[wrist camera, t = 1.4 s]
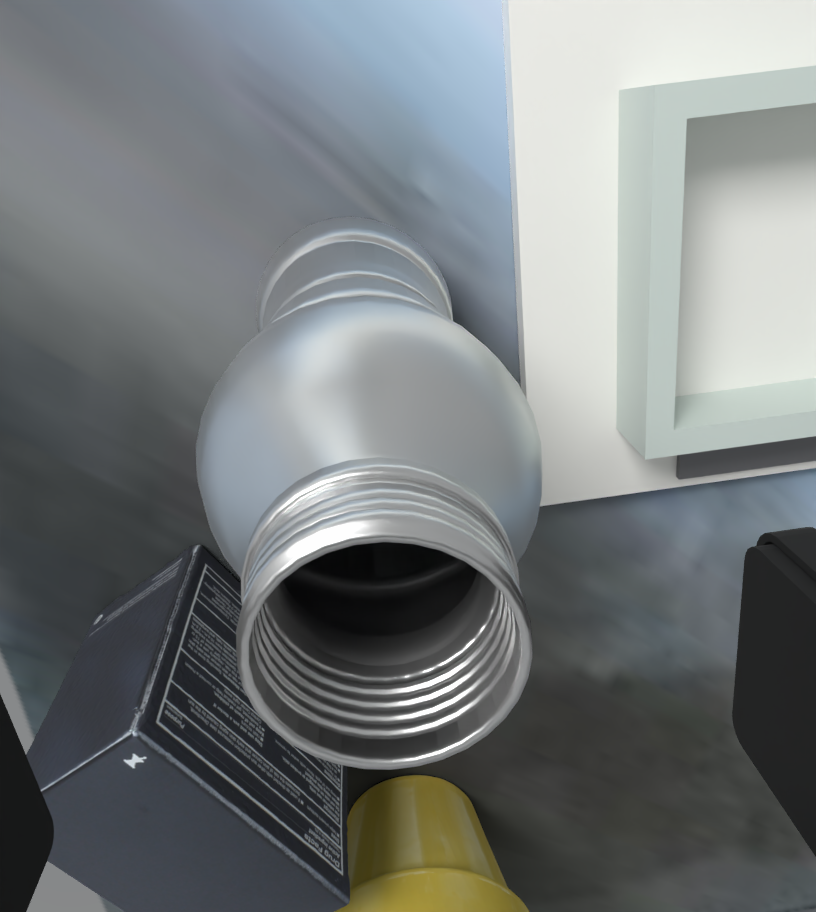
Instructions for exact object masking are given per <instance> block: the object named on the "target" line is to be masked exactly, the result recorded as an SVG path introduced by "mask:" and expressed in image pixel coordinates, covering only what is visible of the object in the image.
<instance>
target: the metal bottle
mask: <svg viewBox="0 0 816 912" xmlns="http://www.w3.org/2000/svg"><path fill="white" fill-rule="evenodd" d="M256 321H257V328H258V334H257V335H256V336H255V337H254V338H253V339H251V340H250V341H249V342H248V343H247V344H246V345H244V346H243V348H242V349H241V350H240V352H239V353H238V354H237V356H236V357H235V358H234V360H233V361H232V362H231V364H230V365H229V366H228V368H227V369H226V370H225V372H224V373H223V375H222V376H221V378H220V379H219V381H218V382H217V383H216V385H215V387H214V389H213V391H212V393H211V396H210V398H209V400H208V402H207V405H206V407H205V409H204V411H203V414H202V417H201V422H200V427H199V433H198V438H197V443H196V467H197V481H198V485H199V488H200V492H201V496H202V500H203V504H204V508H205V511H206V515H207V519H208V522H209V526H210V530H211V532H212V534H213V536H214V538H215V540H216V542H217V544H218V546H219V548H220V550H221V552H222V554H223V556H224V557H225V559H226V560H227V561H228V563H229V564H230V565H231V566H232V568H233V569H234V570H235V572H236V573H237V574H238V575H239V577H240V578H241V602H242V608H241V612H240V617H239V621H238V625H237V629H236V655H237V667H238V670H239V674H240V678H241V682H242V686H243V689H244V691H245V693H246V694H247V696H248V698H249V700H250V702H251V704H252V706H253V708H254V709H255V711H256V712H257V713H258V714H259V715H260V716H261V718H262V719H263V720H264V721H265V722H266V724H267V725H268V726H269V727H270V728H271V729H272V730H273V731H275V732H276V733H277V734H278V735H280V736H281V737H282V738H284V739H285V740H286V741H287V742H289V743H290V744H292V745H293V746H295V747H297V748H299V749H301V750H303V751H305V752H307V753H308V754H310V755H312V756H315V757H318V758H321V759H324V760H326V761H329V762H332V763H335V764H338V765H344V766H350V767H356V768H361V769H384V770H393V769H401V768H409V767H417V766H421V765H425V764H428V763H432V762H436V761H439V760H443V759H445V758H448V757H450V756H452V755H454V754H456V753H459V752H461V751H463V750H465V749H467V748H469V747H470V746H472V745H473V744H475V743H476V742H478V741H479V740H481V739H482V738H484V737H486V736H487V735H488V734H489V733H490V732H491V731H492V730H494V729H495V728H496V727H497V726H498V725H499V724H500V723H501V722H502V721H503V720H504V719H505V718H506V717H507V715H508V714H509V713H510V711H511V710H512V708H513V707H514V706H515V704H516V703H517V701H518V700H519V698H520V696H521V694H522V691H523V689H524V687H525V685H526V682H527V680H528V677H529V672H530V667H531V661H532V656H533V653H532V633H531V621H530V618H529V615H528V611H527V608H526V605H525V601H524V598H523V596H522V593H521V591H520V585H519V570H518V566H517V563H518V562H519V560H520V559H521V557H522V556H523V554H524V553H525V551H526V549H527V547H528V544H529V542H530V539H531V537H532V534H533V532H534V529H535V527H536V524H537V519H538V513H539V507H540V502H541V496H542V475H543V473H542V448H541V440H540V437H539V433H538V429H537V425H536V421H535V417H534V413H533V411H532V409H531V407H530V405H529V403H528V401H527V399H526V397H525V395H524V393H523V392H522V390H521V388H520V386H519V384H518V383H517V381H516V380H515V379H514V378H513V376H512V375H511V374H510V373H509V371H508V370H507V369H506V368H505V366H504V365H503V364H502V363H501V361H500V360H499V359H498V358H497V357H496V356H495V355H494V354H493V353H492V352H491V351H490V350H489V349H488V348H487V347H486V346H485V345H484V344H483V343H481V342H480V341H479V340H478V339H477V338H475V337H474V336H473V335H472V334H471V333H469V332H468V331H467V330H466V329H465V328H463V327H462V326H461V325H459V324H457V323H455V322H453V314H452V303H451V298H450V295H449V291H448V288H447V284H446V281H445V280H444V278H443V276H442V274H441V272H440V270H439V268H438V266H437V264H436V263H435V262H434V260H433V259H432V258H431V257H430V255H429V254H428V253H427V252H426V250H425V249H424V248H423V247H422V246H420V245H419V244H418V243H417V242H416V241H415V240H414V239H412V238H411V237H410V236H409V235H407V234H405V233H404V232H402V231H400V230H398V229H397V228H395V227H393V226H391V225H388V224H385V223H382V222H379V221H376V220H373V219H368V218H360V217H352V216H351V217H339V218H330V219H327V220H323V221H320V222H317V223H313V224H311V225H309V226H307V227H305V228H304V229H302V230H300V231H298V232H296V233H295V234H293V235H292V236H291V237H290V238H289V239H288V240H287V241H285V242H284V243H283V244H282V245H281V246H280V247H279V248H278V250H277V251H276V252H275V254H274V255H273V256H272V258H271V259H270V260H269V262H268V264H267V266H266V268H265V271H264V273H263V275H262V277H261V280H260V284H259V288H258V293H257V298H256Z"/></svg>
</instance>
